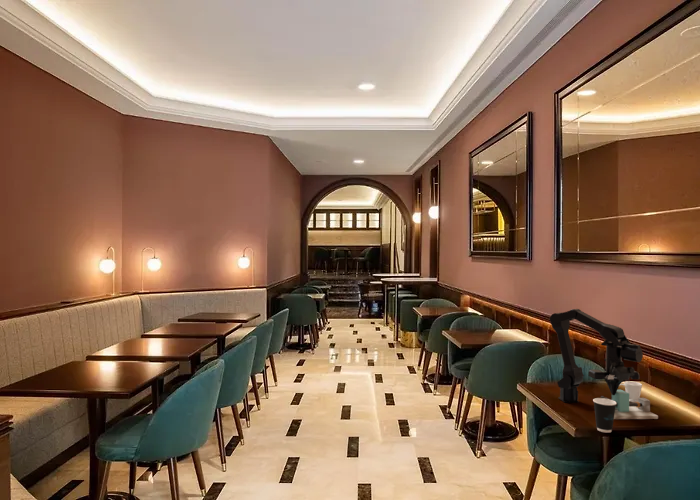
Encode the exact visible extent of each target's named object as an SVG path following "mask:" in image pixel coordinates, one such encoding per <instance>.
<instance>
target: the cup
mask: <svg viewBox="0 0 700 500" xmlns="http://www.w3.org/2000/svg"><path fill="white" fill-rule="evenodd" d="M623 382H624V383H621V384H620V385H619V387H620V386H623V387H624V388H625V390H624V391H625V392H627V393H629V403H635V402H638V398H641V392H642V387H643V384H642V383H640V382H639V381H630V380H626V381H623ZM617 390H619V388H618V389H617Z"/></svg>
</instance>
